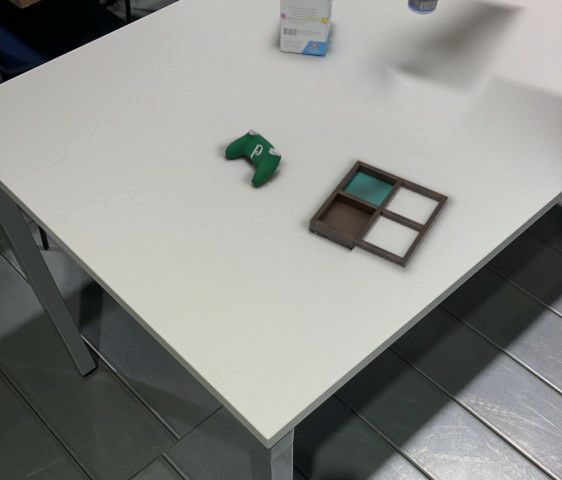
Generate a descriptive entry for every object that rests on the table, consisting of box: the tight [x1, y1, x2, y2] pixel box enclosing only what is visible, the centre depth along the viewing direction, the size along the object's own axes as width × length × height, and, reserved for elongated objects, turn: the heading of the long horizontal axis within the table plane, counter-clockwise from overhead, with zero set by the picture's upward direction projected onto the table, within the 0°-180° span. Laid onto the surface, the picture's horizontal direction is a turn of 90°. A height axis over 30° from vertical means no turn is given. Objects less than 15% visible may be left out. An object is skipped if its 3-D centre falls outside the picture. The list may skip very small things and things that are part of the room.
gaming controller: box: [224, 128, 282, 187], centre depth 97 cm, size 9×4×6 cm
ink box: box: [279, 0, 334, 57], centre depth 111 cm, size 9×8×13 cm
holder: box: [308, 160, 450, 268], centre depth 92 cm, size 15×15×2 cm
